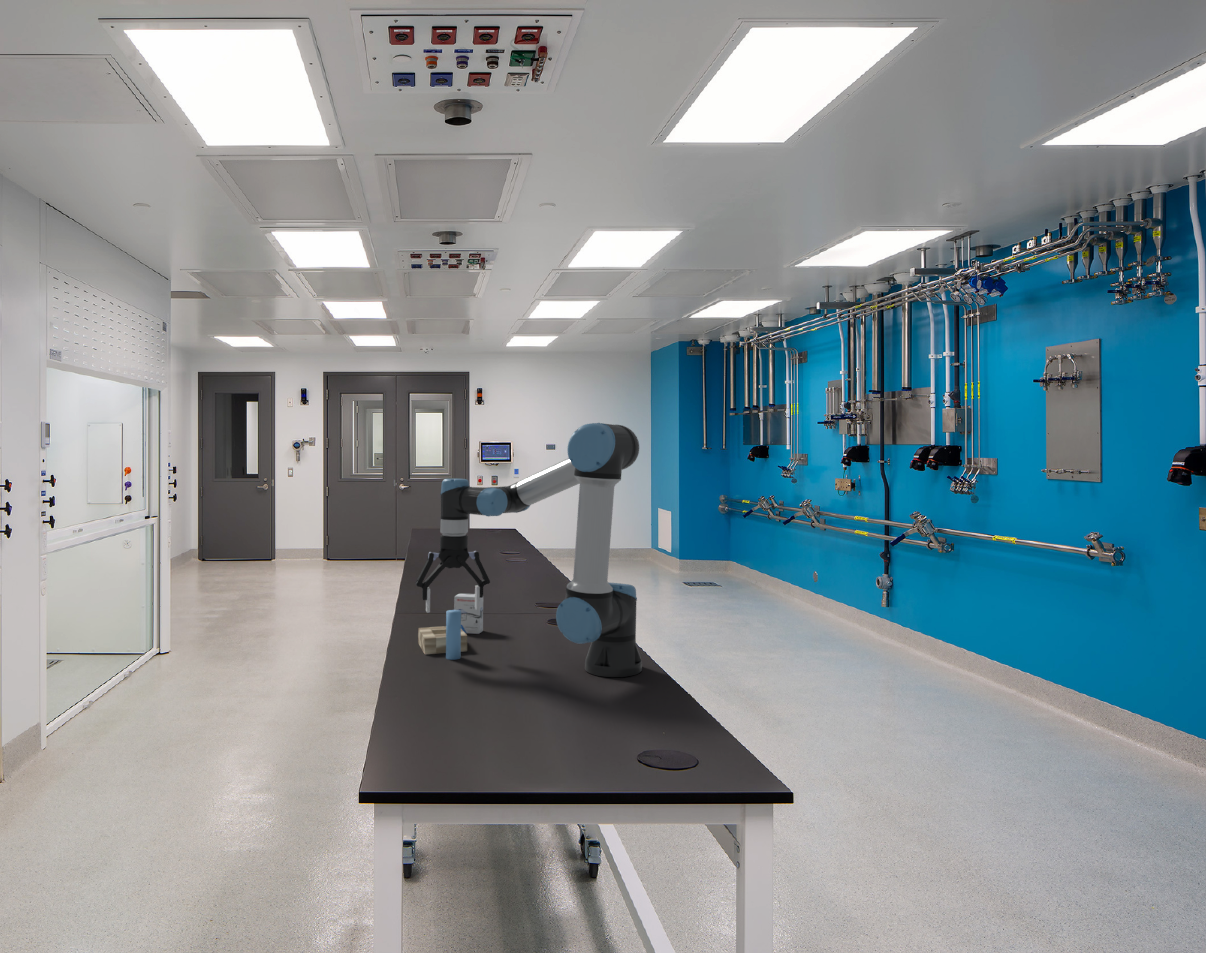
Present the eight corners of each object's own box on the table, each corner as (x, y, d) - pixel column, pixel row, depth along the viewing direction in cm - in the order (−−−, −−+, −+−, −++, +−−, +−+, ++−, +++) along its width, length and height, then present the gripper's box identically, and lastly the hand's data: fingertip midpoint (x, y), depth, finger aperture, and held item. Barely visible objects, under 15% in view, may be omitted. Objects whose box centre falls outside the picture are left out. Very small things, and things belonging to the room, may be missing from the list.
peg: (461, 659, 214) (462, 612, 214) (447, 660, 213) (447, 613, 212) (459, 655, 218) (459, 609, 217) (444, 656, 216) (445, 610, 216)
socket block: (467, 651, 222) (467, 635, 222) (424, 654, 218) (424, 638, 218) (458, 640, 236) (458, 625, 235) (418, 643, 231) (418, 628, 231)
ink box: (452, 633, 245) (453, 596, 244) (457, 629, 250) (457, 593, 249) (479, 634, 244) (479, 597, 243) (483, 630, 249) (483, 594, 248)
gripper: (495, 532, 222) (493, 605, 223) (406, 533, 213) (405, 610, 214) (501, 535, 215) (499, 611, 216) (409, 536, 206) (408, 615, 207)
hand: (452, 610), depth 215 cm, fingers open, 13 cm apart
